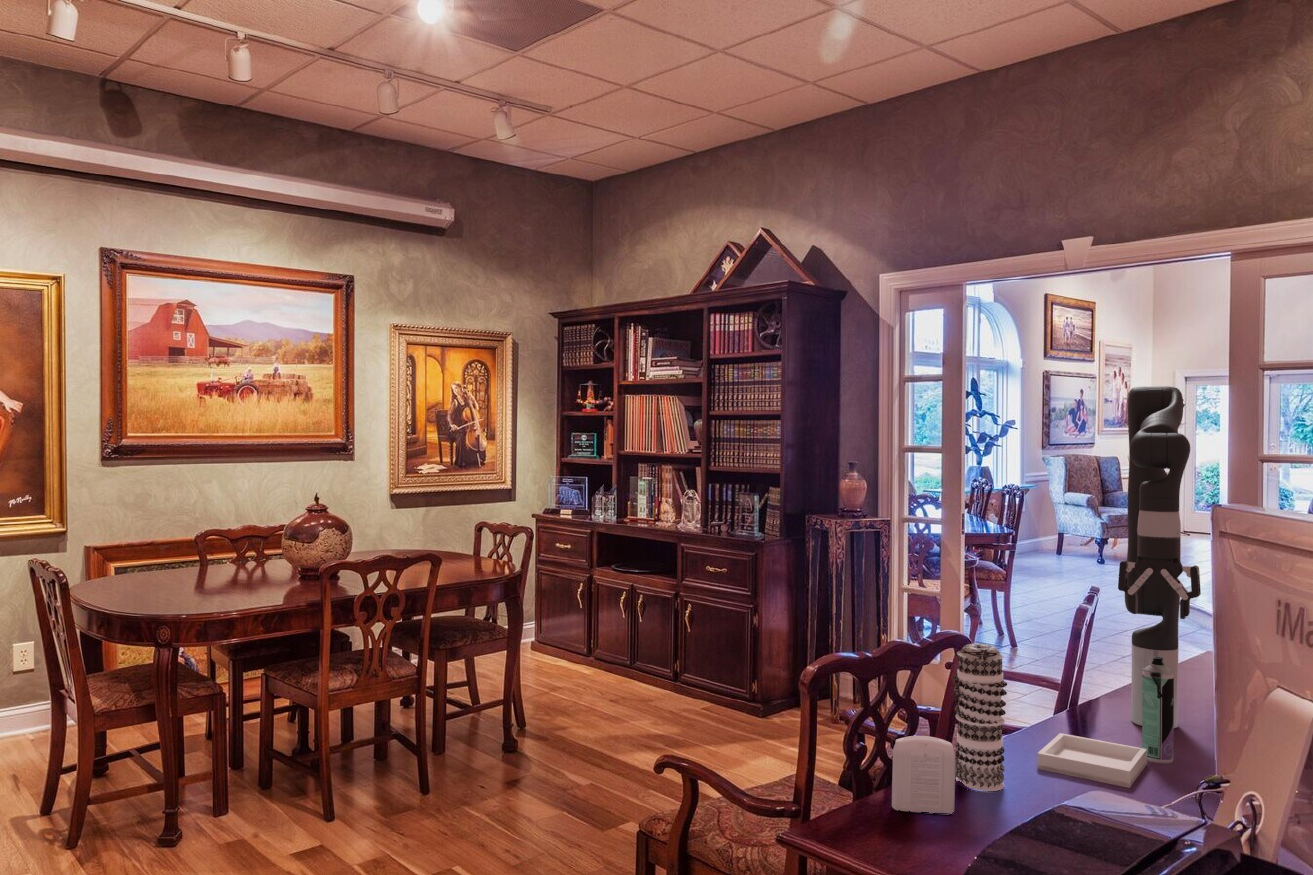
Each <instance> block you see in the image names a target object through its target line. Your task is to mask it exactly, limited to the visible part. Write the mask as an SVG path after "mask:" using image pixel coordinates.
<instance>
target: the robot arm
mask: <svg viewBox="0 0 1313 875" xmlns="http://www.w3.org/2000/svg"><path fill="white" fill-rule="evenodd" d="M1127 397H1128V398H1127V426H1128V427H1127V428H1128V429H1127V430H1128V447H1129V448H1128V450H1129V451H1128V452H1129V454H1128V456H1129V458H1128V461H1129V462H1128V478H1127V481H1128V482H1127V552H1126V553H1127V554H1126V559H1125V560H1121V561H1120V562H1119V566H1118V567H1119V569H1118V579H1117V580H1118V583H1117V584H1118V586H1117V589H1118V590H1119V591H1121V592H1123V593H1124V605H1125V608H1126V610H1127V612H1128V613H1130V614H1132V615H1145V616H1155V617H1156V616H1157V617H1161V618H1162V620H1161V621H1160V622H1158V623H1156V624H1155V625H1152V626H1149V627H1148V626H1147V627H1144V628H1139V629H1136V630H1134V631H1132V632H1131V633H1132V634H1131V692H1130V693H1131V695H1130V696H1131V702H1130V703H1131V704H1130V706H1131V707H1130V708H1131V709H1130V710H1131V711H1130V713H1131V715H1130V716H1131V717H1130V718H1131V720H1130V721H1131V722H1132V723H1134V724H1135V725H1138V726H1142V684H1143V671H1144V670H1143V668H1144V667H1147V666H1149V665H1150V663H1152V661H1153V658H1155V657H1162V658H1163V662H1164V664H1166V667H1168V668H1169V669H1170V670H1172V671H1173V675H1174V729H1176V728H1178V727H1179V618H1180V619H1181V620H1185V619H1186V618H1187V617H1189V615H1190V613H1191V610H1190V608H1191V607H1190V605H1191V604H1190V602H1191V599H1194V598H1198V597H1200V596H1201V579H1200V578H1201V576H1200V567H1199V566H1198V565H1196V564H1195V565H1193V566H1190V565H1189V566H1187V565H1183V564H1182V562H1181V556H1182V555H1181V548H1182V547H1181V546H1182V545H1181V544H1182V543H1181V540H1182V538H1181V536H1182V534H1181V532H1182V531H1181V530H1182V528H1181V527H1182V526H1181V525H1182V524H1181V523H1182V522H1181V517H1180V515H1181V514H1180V492H1181V484H1182V479H1183V475H1184V472H1185V468H1186V466H1187V463H1188V460H1189V457H1190V454H1191V444H1190V441H1189V439H1188V438H1187V437H1186V436H1185V435H1184V434H1182V433H1179V431H1178V430H1179V428H1180V426H1181V423H1182V421H1183V415H1184V398H1183V394H1182V391H1181V390H1180V389H1179V388H1178V387H1174V386H1168V385H1167V386H1166V385H1165V386H1134V387H1132V388H1131V389H1130V390H1129V392H1128V396H1127ZM1165 469H1168V470H1169V471H1168V473H1167V472H1166V470H1165ZM1183 572H1184V573H1185V574H1186V577H1188V578H1189V579H1190V588H1191V591H1188V590H1187V589H1186V587H1185V586H1184V585H1183V583H1182V581H1181V580H1180V579H1179V577H1180V576H1181V575H1182V573H1183Z"/></svg>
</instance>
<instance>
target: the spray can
mask: <svg viewBox="0 0 1313 875" xmlns="http://www.w3.org/2000/svg"><path fill="white" fill-rule="evenodd" d="M1143 670H1144V671H1143V684H1142V727H1141V748H1144V749H1147V762H1152V763H1155V764H1162V765H1163V764H1165V765H1166V764H1171V763H1173V762H1174V732H1175V728H1174V675H1173V671H1172V670H1170V669H1169V668H1168V667H1166V664H1164V662H1163V658H1162V657H1155V658H1153V661H1152V663H1150V665H1149V666H1147V667H1144V668H1143Z"/></svg>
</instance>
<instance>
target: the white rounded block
mask: <svg viewBox="0 0 1313 875" xmlns="http://www.w3.org/2000/svg"><path fill="white" fill-rule="evenodd" d="M955 754H956V753H955V750H954V745H953V744H952V742H950V741H948V740H945V739H943V738H938V737H934V736H928V735H911V736H905V737H901V738H897V739H895V744H894V745H893V749H892V773H891V774H892V780H891V807H892V809H893V810H895V811H899V810H900V811H901V812H909V811H910V812H911V813H921V812H929V813H928V814H933V813H949V814H950V813H951V814H952V813H953V812H954V813H955V797H956V796H955V792H956V791H955V790H956V786H955V785H956V782H955V779H956V775H955V770H956V766H955V761H956V755H955ZM954 813H953V814H954ZM949 814H948V815H949ZM953 814H952V815H953Z"/></svg>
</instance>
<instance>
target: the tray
mask: <svg viewBox="0 0 1313 875" xmlns="http://www.w3.org/2000/svg"><path fill="white" fill-rule="evenodd" d="M1036 761H1037V762H1036V763H1037V765H1036V766H1037V770H1042V771H1046V772H1051V773H1055V774H1061V775H1064V776H1065V775H1066V776H1069V777H1074V778H1079V779H1084V780H1087V781H1088V780H1090V781H1093V782H1099V783H1103V784H1109V785H1114V786H1119V787H1124V788H1128V789H1130V788H1131V787H1132V785H1133V784H1134V783H1135V781H1136V780H1137V778H1139V776H1140V775H1141V773H1142V772H1143V770H1144V769H1145V768H1146V767H1147V765H1148V761H1147V749H1144V748H1142V747H1137V746H1134V745H1127V744H1122V743H1121V744H1120V743H1117V742H1116V743H1115V742H1112V741H1111V742H1110V741H1105V740H1101V739H1095V738H1088V737H1083V736H1077V735H1073V734H1067V733H1062V732H1060V733H1058V734H1057V735H1056V736H1055V737H1054V738H1053V739H1051V741H1049V742H1048V743H1047V744H1046V745H1045V746H1044V747H1042V749H1040V750H1039V751H1038V752H1037V760H1036Z"/></svg>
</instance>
